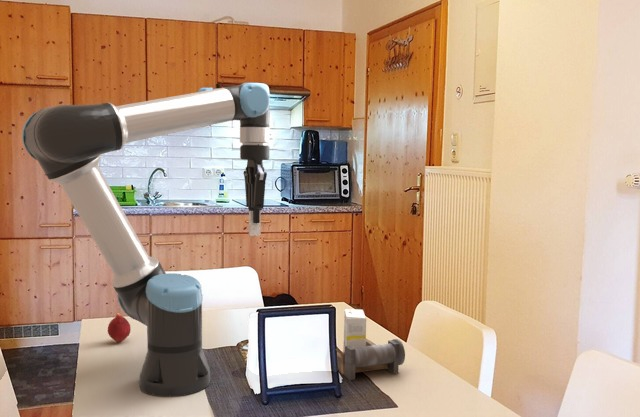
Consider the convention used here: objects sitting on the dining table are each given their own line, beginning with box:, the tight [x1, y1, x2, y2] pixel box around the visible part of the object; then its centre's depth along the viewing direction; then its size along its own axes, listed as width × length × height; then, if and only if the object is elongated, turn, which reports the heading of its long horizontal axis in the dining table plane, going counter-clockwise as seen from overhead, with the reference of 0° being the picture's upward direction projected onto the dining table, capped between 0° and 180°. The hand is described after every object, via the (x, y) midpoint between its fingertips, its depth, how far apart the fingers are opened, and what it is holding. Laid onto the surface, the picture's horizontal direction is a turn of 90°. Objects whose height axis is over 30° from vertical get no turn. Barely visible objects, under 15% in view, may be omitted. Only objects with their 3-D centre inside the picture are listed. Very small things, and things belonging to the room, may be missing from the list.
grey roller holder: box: [336, 338, 406, 381], centre depth 148 cm, size 13×22×8 cm, turn 23°
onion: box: [107, 312, 131, 344], centre depth 162 cm, size 6×6×8 cm
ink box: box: [342, 308, 367, 352], centre depth 150 cm, size 9×5×12 cm, turn 2°
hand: (254, 235), depth 159 cm, fingers closed
